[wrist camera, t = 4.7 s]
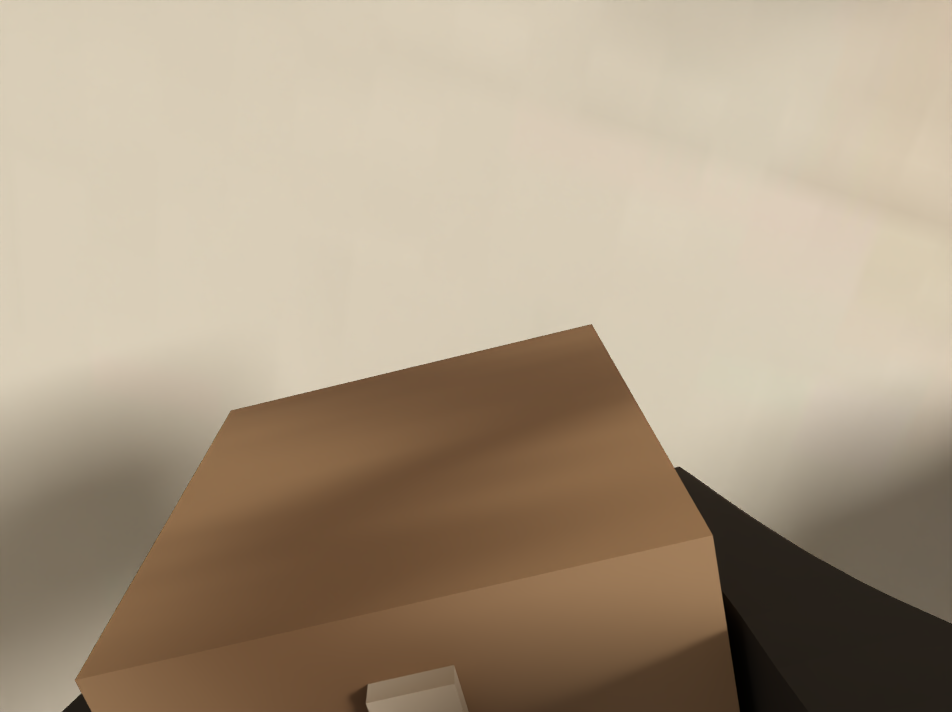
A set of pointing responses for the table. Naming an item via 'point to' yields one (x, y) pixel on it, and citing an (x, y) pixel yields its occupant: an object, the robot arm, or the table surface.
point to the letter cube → (430, 554)
